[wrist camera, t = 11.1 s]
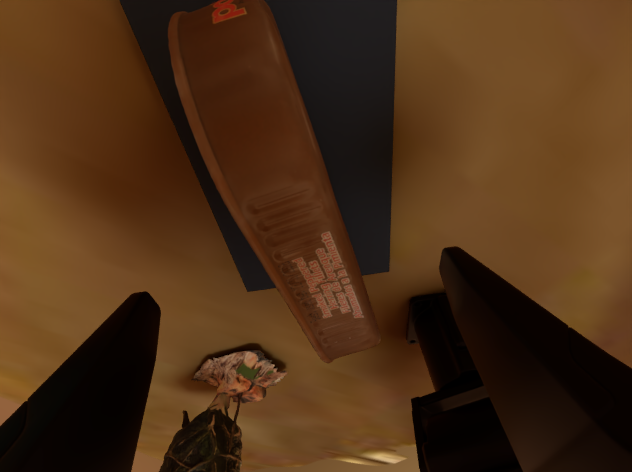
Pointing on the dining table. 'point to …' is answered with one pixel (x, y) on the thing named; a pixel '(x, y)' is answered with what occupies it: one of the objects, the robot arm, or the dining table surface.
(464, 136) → the dining table surface
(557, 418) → the robot arm
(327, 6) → the placemat
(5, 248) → the dining table surface
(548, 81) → the dining table surface
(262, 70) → the tin
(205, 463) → the plant with pod
